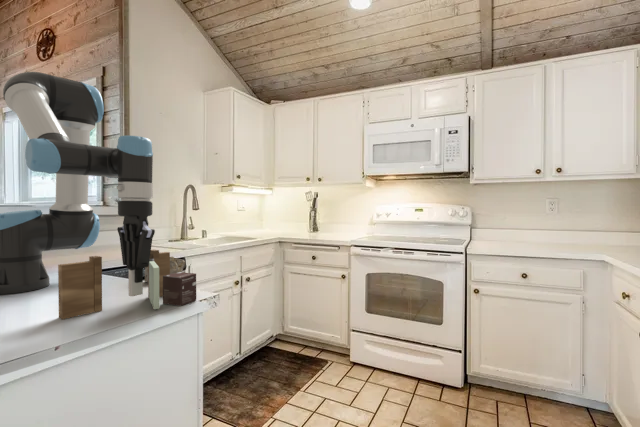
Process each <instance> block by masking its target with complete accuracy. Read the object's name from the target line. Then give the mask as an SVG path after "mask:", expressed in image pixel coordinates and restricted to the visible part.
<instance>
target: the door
mask: <svg viewBox="0 0 640 427" xmlns="http://www.w3.org/2000/svg"><path fill="white" fill-rule="evenodd" d="M148 301H149V302H150V304H151V306H152V309H153V310H159V309H160V297H159V267H158V265H157V264H156V263H155V262H154V259H149V297H148Z"/></svg>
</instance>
